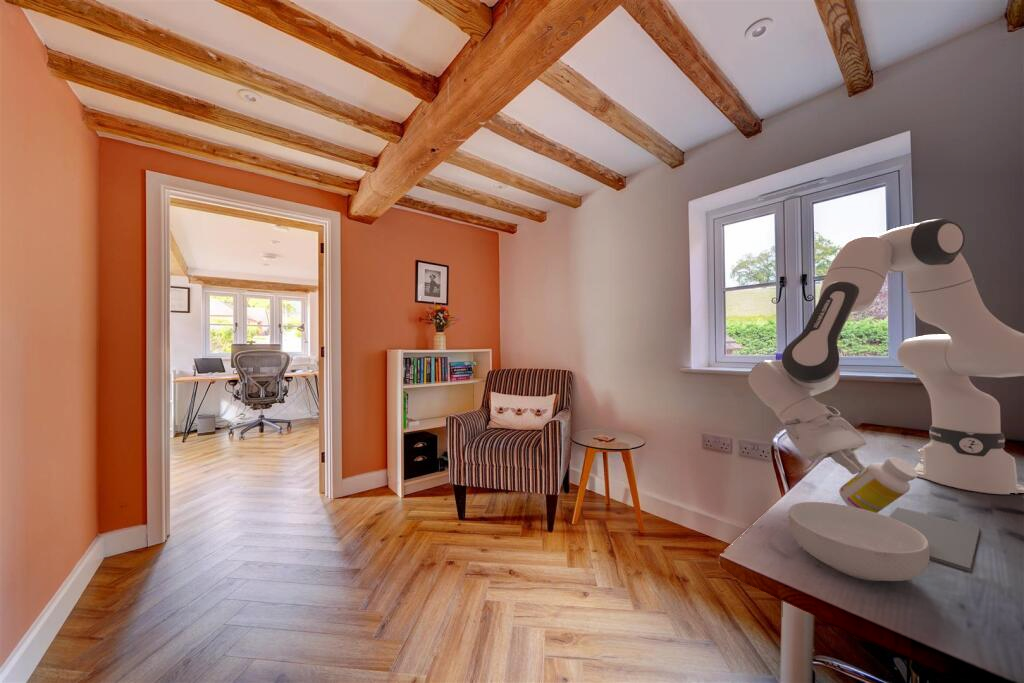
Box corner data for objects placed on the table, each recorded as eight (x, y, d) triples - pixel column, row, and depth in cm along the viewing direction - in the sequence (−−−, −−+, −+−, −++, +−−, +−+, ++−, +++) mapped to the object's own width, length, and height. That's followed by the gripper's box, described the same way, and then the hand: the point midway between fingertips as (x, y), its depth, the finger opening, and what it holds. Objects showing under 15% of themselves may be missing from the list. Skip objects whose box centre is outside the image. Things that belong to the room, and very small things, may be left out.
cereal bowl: (790, 529, 71) (789, 493, 71) (916, 560, 60) (914, 518, 60) (786, 571, 57) (785, 526, 58) (946, 621, 47) (945, 566, 47)
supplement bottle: (879, 521, 75) (933, 486, 68) (847, 510, 75) (897, 474, 68) (861, 494, 80) (909, 459, 73) (831, 484, 81) (876, 448, 74)
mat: (897, 509, 78) (897, 507, 78) (979, 530, 69) (979, 527, 69) (873, 541, 66) (873, 538, 66) (970, 571, 57) (970, 568, 57)
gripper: (790, 413, 80) (847, 471, 71) (839, 407, 88) (895, 458, 79) (769, 429, 84) (821, 486, 74) (818, 422, 92) (869, 472, 83)
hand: (859, 472), depth 77 cm, fingers closed, pressing on supplement bottle
